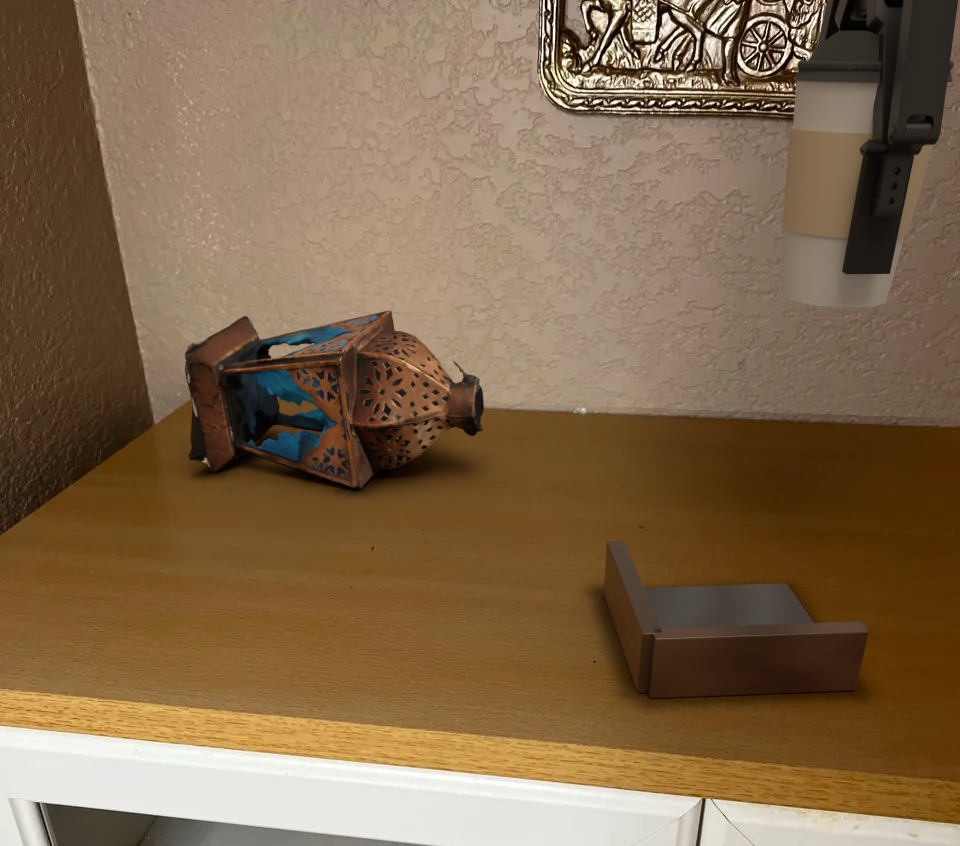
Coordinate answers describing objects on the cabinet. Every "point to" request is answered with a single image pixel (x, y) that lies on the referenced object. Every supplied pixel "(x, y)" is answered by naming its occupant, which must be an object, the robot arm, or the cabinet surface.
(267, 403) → the lantern
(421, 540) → the cabinet surface
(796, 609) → the corner guide
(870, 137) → the coffee cup
